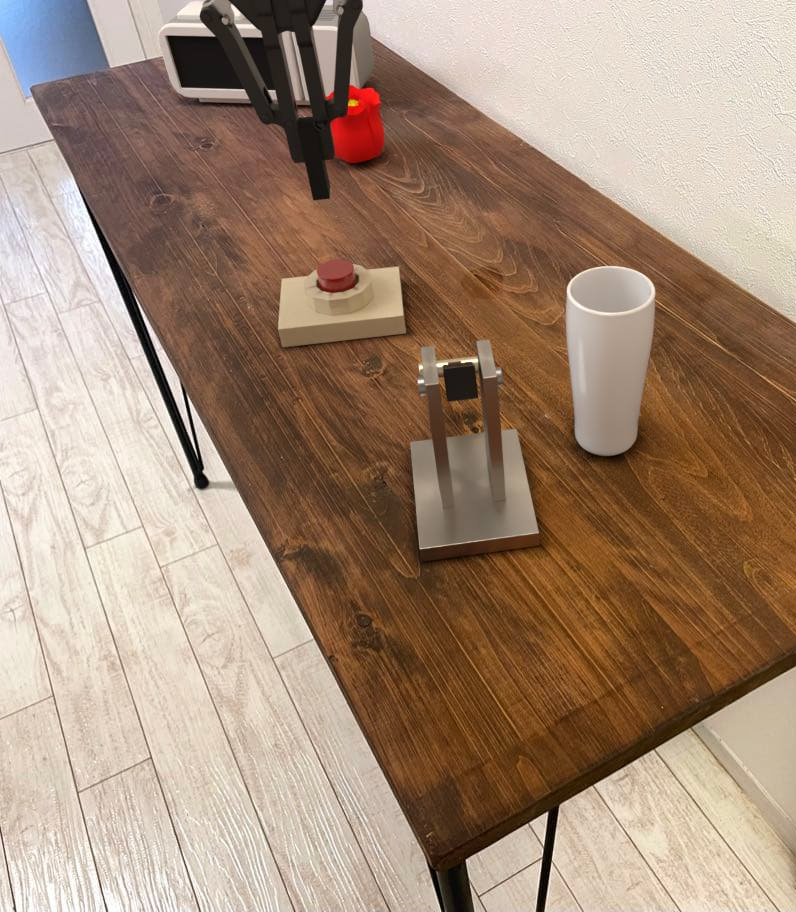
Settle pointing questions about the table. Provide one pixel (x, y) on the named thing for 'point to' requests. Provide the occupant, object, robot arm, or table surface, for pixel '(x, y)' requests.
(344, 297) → the button block
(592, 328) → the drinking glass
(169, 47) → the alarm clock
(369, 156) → the flower
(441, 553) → the bracket
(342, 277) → the button
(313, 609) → the table surface
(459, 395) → the lever
